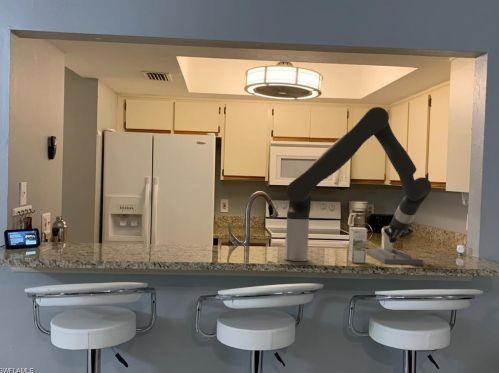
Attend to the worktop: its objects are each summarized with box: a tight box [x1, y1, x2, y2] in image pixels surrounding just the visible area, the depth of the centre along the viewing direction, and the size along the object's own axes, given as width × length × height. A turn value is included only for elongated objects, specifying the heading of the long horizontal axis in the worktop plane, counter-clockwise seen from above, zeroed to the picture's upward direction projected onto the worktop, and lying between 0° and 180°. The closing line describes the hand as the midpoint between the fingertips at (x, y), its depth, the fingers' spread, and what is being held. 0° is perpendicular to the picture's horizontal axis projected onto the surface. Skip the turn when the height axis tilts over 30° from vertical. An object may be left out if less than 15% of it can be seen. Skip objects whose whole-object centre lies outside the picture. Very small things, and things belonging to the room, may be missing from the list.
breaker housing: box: [366, 246, 424, 266], centre depth 180 cm, size 16×24×4 cm, turn 2°
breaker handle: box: [381, 227, 394, 252], centre depth 187 cm, size 4×3×11 cm
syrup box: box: [347, 226, 368, 264], centre depth 170 cm, size 6×6×14 cm
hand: (391, 241), depth 182 cm, fingers closed
